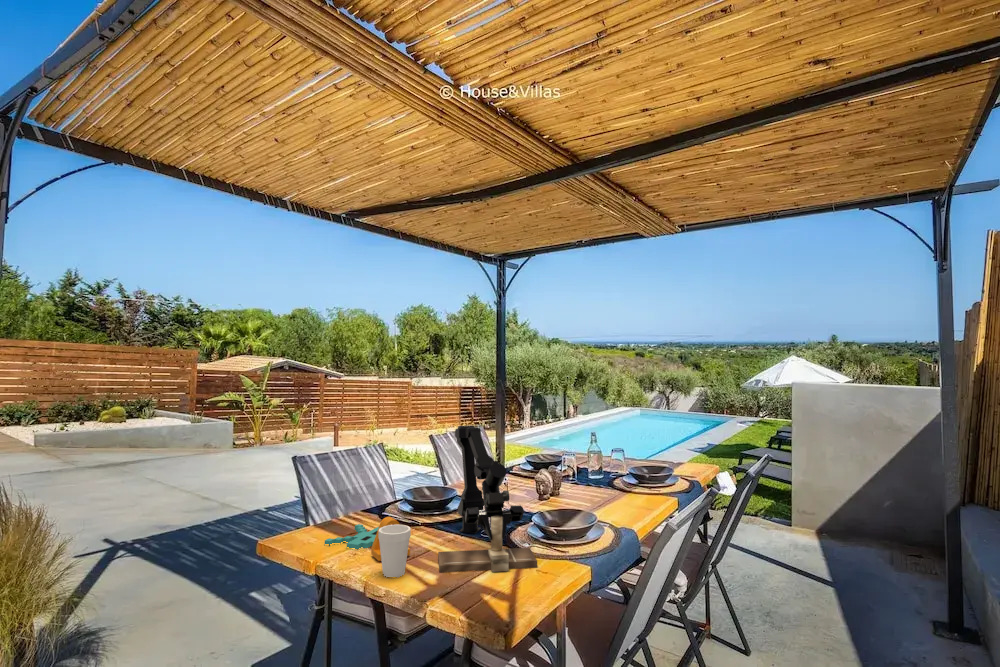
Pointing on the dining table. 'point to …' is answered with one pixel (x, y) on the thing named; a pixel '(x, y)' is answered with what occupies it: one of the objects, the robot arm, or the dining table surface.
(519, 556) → the walnut board
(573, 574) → the dining table surface
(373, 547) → the bracket
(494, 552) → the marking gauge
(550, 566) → the dining table surface
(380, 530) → the foam cup
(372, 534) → the alien figure
